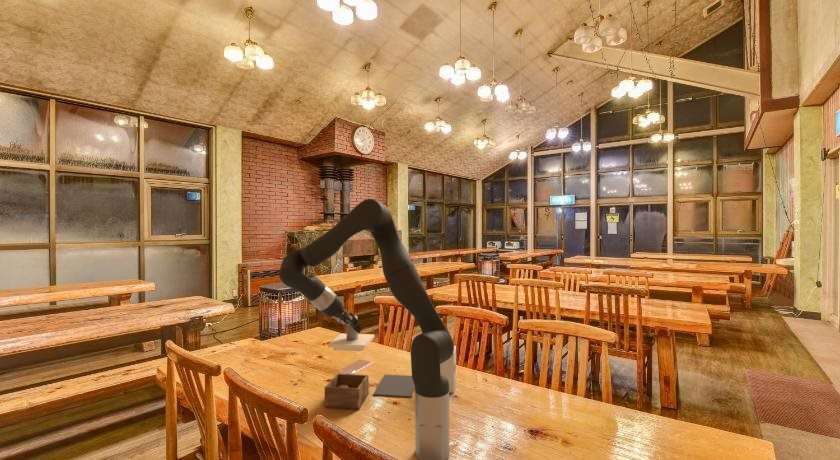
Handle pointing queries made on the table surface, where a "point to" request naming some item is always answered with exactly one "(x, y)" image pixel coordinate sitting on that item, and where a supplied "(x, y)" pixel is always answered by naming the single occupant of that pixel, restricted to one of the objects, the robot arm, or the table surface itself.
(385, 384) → the rubber mat
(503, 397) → the table surface
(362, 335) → the lid
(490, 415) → the table surface
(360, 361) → the mobile phone
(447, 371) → the supplement box
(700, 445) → the table surface
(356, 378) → the walnut box
